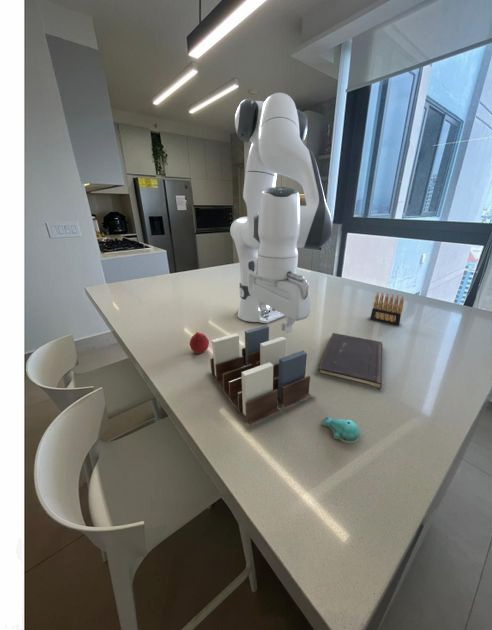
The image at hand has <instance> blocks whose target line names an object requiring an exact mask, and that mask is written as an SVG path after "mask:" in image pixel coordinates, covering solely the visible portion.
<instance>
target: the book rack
mask: <svg viewBox="0 0 492 630" xmlns="http://www.w3.org/2000/svg"><path fill="white" fill-rule="evenodd" d="M209 362H210V372H209V373H210V374H211V376H212V377H213V378H214V380H215V381H216V382H217V384H218V385H219V386H220V388H221V389H222V390H223V392H224V393H225V394H226V396H227V397H228V399H229V401H230V402H231V403H232V404H233V406H234V407H235V408H236V410H237V411H238V412H239V413H240V415H241V416H242V417H243V419H244V421H245V422H246V423H247V424H248V426H251V425H253V424H255V423H257V422H259V421H262V420H264V419H265V418H268V417H269V416H272V415H274V414H276V413H279V412H280V411H281V410H280V409H279V408H278V402H279V404H281V406H283V408H284V409H286V408H289V407H291V406H293V405H295V404H297V403H299V402H301V401H303V400H305V399H308V398H310V397H311V396H312V395H311V393H310V383H311V375H305V377H304V378H302V379H299V380H297V381H295V382H292V383H290V384H287V385H285V386H283V387H282V401H281V400H280V399H279V398H278V376H279V363H278V364H275V365H273V391H271V392H269V393H266V394H264V395H262V396H259V397H257V398H254V399H252V400H250V401H247V402H245V410H246V416H245V415H244V414H243V401H242V372H244V371H246V370H249V369H252V368H255V367H258V366H260V350H259V351H256V352H253V353H250V354H248V365H246V359H245V347H241V355H240V357H237V358H234V359H231V360H228V361H225V362H222V363H219V364H216V365H215V368H216V376H215V370H214V358H213V357H209Z"/></svg>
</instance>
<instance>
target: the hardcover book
mask: <svg viewBox="0 0 492 630" xmlns="http://www.w3.org/2000/svg"><path fill="white" fill-rule="evenodd" d="M318 370H319V373H321V374H324V375H325V374H326V375H329V376H334V377H338V378H341V379H346V380H349V381H354V382H358V383H361V384H362V383H363V384H367V385H370V386H373V387H374V388H376V389H377V390H381V389H382V386H383V342H382V341H379V340H373V339H368V338H364V337H358V336H353V335H352V336H351V335H347V334H342V333H335V332H333V333H332V334H331V337H330V339H329V342H328V344H327V347H326V349H325V352H324V354H323V357H322V359H321V362H320V364H319V367H318Z"/></svg>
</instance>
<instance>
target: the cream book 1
mask: <svg viewBox="0 0 492 630" xmlns="http://www.w3.org/2000/svg"><path fill="white" fill-rule="evenodd" d="M211 344H212V345H211V347H212V356H213V358H214V370H215V376H216V368H215V365H216V364H219V363H222V362H225V361H228V360H231V359H234V358H237V357H240V356H241V352H240V335H239V334H238V333H237V332H236V333H231V334H229V335H225V336H221V337H218V338H214V339H211Z"/></svg>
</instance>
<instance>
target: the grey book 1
mask: <svg viewBox="0 0 492 630" xmlns="http://www.w3.org/2000/svg"><path fill="white" fill-rule="evenodd" d="M267 341H270V327H269V326H268V325H266V324H264V325H262V326H258V327H255V328H254V327H253V328H251V329H247V330H244V348H245V359H246V365H248V354H250V353H253V352H256V351H259V350H260V344H261V343H264V342H267Z"/></svg>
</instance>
